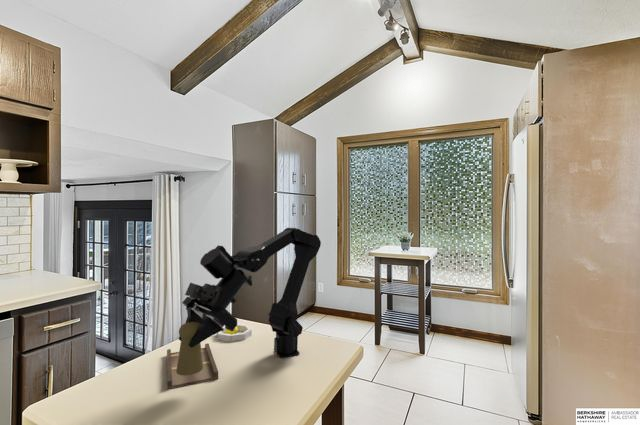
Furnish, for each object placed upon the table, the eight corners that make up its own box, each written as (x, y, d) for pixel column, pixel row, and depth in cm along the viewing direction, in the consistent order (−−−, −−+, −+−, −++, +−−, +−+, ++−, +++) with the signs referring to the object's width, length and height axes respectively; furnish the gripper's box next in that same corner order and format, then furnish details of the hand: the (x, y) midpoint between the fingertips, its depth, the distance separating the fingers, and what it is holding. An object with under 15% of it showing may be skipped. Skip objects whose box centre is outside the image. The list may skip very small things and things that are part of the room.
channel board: (208, 348, 101) (208, 343, 101) (218, 378, 82) (218, 371, 82) (166, 355, 96) (167, 349, 96) (167, 389, 77) (167, 381, 77)
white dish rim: (246, 327, 121) (246, 322, 121) (254, 338, 111) (254, 332, 111) (215, 332, 116) (215, 326, 116) (220, 343, 106) (220, 337, 106)
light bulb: (239, 335, 114) (238, 327, 112) (223, 342, 111) (221, 334, 110) (237, 329, 116) (235, 322, 115) (221, 336, 114) (219, 329, 112)
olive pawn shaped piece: (170, 373, 73) (171, 326, 73) (186, 362, 79) (187, 318, 79) (193, 376, 72) (194, 328, 72) (208, 364, 78) (209, 320, 78)
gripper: (190, 266, 85) (145, 316, 77) (226, 275, 72) (177, 336, 64) (216, 290, 91) (177, 339, 82) (254, 302, 78) (212, 361, 70)
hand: (184, 343), depth 75 cm, fingers closed on olive pawn shaped piece, 5 cm apart
